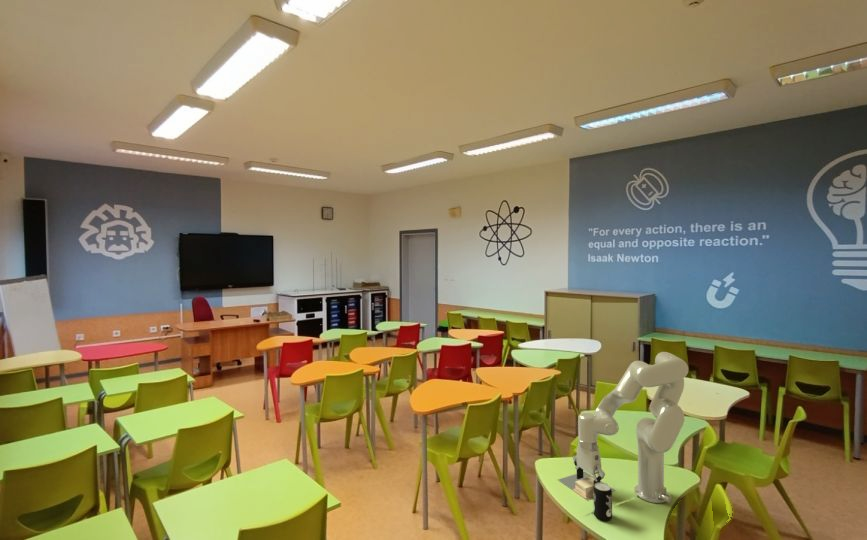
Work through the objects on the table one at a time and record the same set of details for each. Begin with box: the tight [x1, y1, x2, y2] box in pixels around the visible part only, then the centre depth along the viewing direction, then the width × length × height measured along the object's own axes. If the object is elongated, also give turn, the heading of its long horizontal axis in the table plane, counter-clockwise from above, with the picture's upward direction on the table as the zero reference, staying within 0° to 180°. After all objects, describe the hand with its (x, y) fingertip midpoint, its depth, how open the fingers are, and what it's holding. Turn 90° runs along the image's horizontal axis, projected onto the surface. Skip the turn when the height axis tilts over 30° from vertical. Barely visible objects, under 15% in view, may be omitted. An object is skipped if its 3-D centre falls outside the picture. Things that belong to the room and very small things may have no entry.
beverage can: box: [593, 481, 613, 522], centre depth 163 cm, size 7×7×12 cm
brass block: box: [575, 475, 595, 497], centre depth 180 cm, size 9×6×4 cm, turn 114°
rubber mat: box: [557, 470, 617, 501], centre depth 185 cm, size 18×16×1 cm
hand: (588, 483), depth 180 cm, fingers open, 9 cm apart
